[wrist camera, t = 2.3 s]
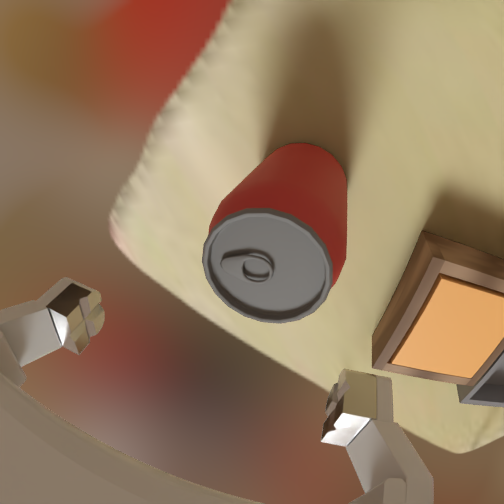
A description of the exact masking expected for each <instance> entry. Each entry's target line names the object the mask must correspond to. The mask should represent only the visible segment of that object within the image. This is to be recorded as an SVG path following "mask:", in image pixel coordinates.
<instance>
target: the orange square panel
mask: <svg viewBox="0 0 504 504" xmlns="http://www.w3.org/2000/svg"><path fill="white" fill-rule="evenodd" d="M503 338H504V293H502V292H499V291H496V290H493V289H490V288H487V287H484V286H481V285H477V284H474V283H471V282H468V281H465V280H462V279H458V278H455V277H452V276H449V275H445V274H442V273H439V274H438V276H437V278H436V280H435V282H434V284H433V286H432V288H431V290H430V292H429V293H428V295H427V297H426V299H425V301H424V303H423V305H422V306H421V308H420V310H419V312H418V313H417V315H416V317H415V319H414V320H413V322H412V324H411V326H410V327H409V329H408V331H407V332H406V334H405V336H404V337H403V339H402V340H401V342H400V344H399V345H398V347H397V348H396V350H395V351H394V353H393V355H392V356H391V363H392V364H396V365H401V366H406V367H411V368H416V369H421V370H426V371H432V372H437V373H443V374H448V375H454V376H460V377H466V378H472V377H473V375H474V374H475V373H476V372H477V371H478V370H479V368H480V367H481V366H482V365H483V364H484V362H485V361H486V360H487V359H488V357H489V356H490V355H491V353H492V352H493V351H494V350H495V348H496V347H497V346H498V344H499V343H500V342H501V340H502V339H503Z"/></svg>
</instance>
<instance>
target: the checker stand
mask: <svg viewBox="0 0 504 504" xmlns="http://www.w3.org/2000/svg"><path fill="white" fill-rule="evenodd" d="M439 273H442V274H445V275H449V276H452V277H455V278H458V279H462V280H465V281H468V282H471V283H474V284H477V285H481V286H484V287H487V288H490V289H493V290H496V291H499V292H502V293H504V259H501V258H498V257H496V256H493V255H490V254H488V253H485V252H482V251H480V250H477V249H474V248H471V247H468V246H466V245H463V244H460V243H457V242H454V241H451V240H448V239H446V238H443V237H440V236H437V235H434V234H431V233H428V232H425V231H422V232H421V234H420V237H419V239H418V242H417V244H416V246H415V249H414V251H413V253H412V256H411V258H410V260H409V263H408V265H407V267H406V269H405V272H404V274H403V276H402V278H401V280H400V282H399V284H398V287H397V289H396V291H395V293H394V295H393V297H392V299H391V301H390V303H389V305H388V307H387V309H386V311H385V313H384V315H383V317H382V319H381V321H380V323H379V324H378V326H377V328H376V330H375V332H374V334H373V336H372V368H374V369H379V370H383V371H388V372H393V373H398V374H403V375H408V376H413V377H419V378H424V379H430V380H436V381H441V382H448V383H454V384H460V385H467V386H474V384H475V383H476V382H477V381H478V380H479V379H480V378H481V377H482V375H483V374H484V373H485V372H486V371H487V370H488V368H489V367H490V366H491V365H492V364H493V362H494V361H495V360H496V359H497V357H498V356H499V355H500V354H501V352H502V351H503V350H504V338H503V339H502V340H501V342H500V343H499V344H498V346H497V347H496V348H495V350H494V351H493V352H492V353H491V355H490V356H489V357H488V359H487V360H486V361H485V362H484V364H483V365H482V366H481V367H480V368H479V370H478V371H477V372H476V373H475V374H474V375H473V377H472V378H466V377H460V376H454V375H448V374H443V373H437V372H432V371H426V370H421V369H416V368H411V367H406V366H401V365H396V364H392V363H391V356H392V355H393V353H394V351H395V350H396V348H397V347H398V345H399V344H400V342H401V340H402V339H403V337H404V336H405V334H406V332H407V331H408V329H409V327H410V326H411V324H412V322H413V320H414V319H415V317H416V315H417V313H418V312H419V310H420V308H421V306H422V305H423V303H424V301H425V299H426V297H427V295H428V293H429V292H430V290H431V288H432V286H433V284H434V282H435V280H436V278H437V276H438V274H439Z"/></svg>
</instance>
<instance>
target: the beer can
mask: <svg viewBox="0 0 504 504" xmlns="http://www.w3.org/2000/svg"><path fill="white" fill-rule="evenodd" d="M346 246H347V179H346V177H345V174H344V171H343V169H342V166H341V165H340V164H339V163H338V161H337V160H336V159H335V158H334V157H333V155H331V154H330V153H328V152H327V151H325V150H324V149H322V148H321V147H318V146H315V145H311V144H307V143H293V144H288V145H286V146H283V147H280V148H278V149H276V150H275V151H274V152H273V153H272V154H270V155H269V156H268V157H267V158H266V159H265V160H264V161H263V162H262V163H261V164H259V165H258V166H257V167H256V168H255V169H254V170H253V171H252V172H251V173H250V174H249V175H248V176H247V177H246V178H245V179H244V180H243V181H242V182H241V183H240V184H239V185H238V186H237V187H236V188H235V189H233V190H232V191H231V192H230V193H229V194H228V195H227V196H226V197H225V198H224V199H223V200H222V201H221V203H220V205H219V207H218V209H217V211H216V212H215V214H214V216H213V218H212V221H211V223H210V226H209V235H208V237H207V239H206V241H205V243H204V247H203V257H202V263H203V267H204V271H205V276H206V279H207V280H208V282H209V284H210V286H211V287H212V289H213V291H214V292H215V294H216V295H217V296H218V297H219V298H220V299H221V300H222V301H223V302H224V303H225V304H226V305H227V306H228V307H230V308H232V309H233V310H235V311H236V312H238V313H240V314H241V315H243V316H245V317H248V318H251V319H254V320H257V321H261V322H268V323H286V322H291V321H297V320H300V319H302V318H304V317H306V316H308V315H310V314H312V313H313V312H315V311H316V310H317V309H318V308H319V306H320V305H321V304H322V303H323V302H324V301H325V300H326V298H327V296H328V293H329V291H330V289H331V288H332V287H333V285H334V284H335V283H336V281H337V279H338V277H339V275H340V272H341V270H342V267H343V265H344V262H345V260H346Z"/></svg>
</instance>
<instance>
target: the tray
mask: <svg viewBox="0 0 504 504" xmlns="http://www.w3.org/2000/svg"><path fill="white" fill-rule="evenodd" d="M457 390H458V396H459V402H460V403H464V404H473V405H483V406H495V407H504V350H503V351H502V352H501V354H500V355H499V356H498V357H497V359H496V360H495V361H494V362H493V364H492V365H491V366H490V367H489V368H488V370H487V371H486V372H485V373H484V374H483V375H482V377H481V378H480V379H479V380H478V381H477V382H476V383H475V384H474V386H467V385H460V384H457Z"/></svg>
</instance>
